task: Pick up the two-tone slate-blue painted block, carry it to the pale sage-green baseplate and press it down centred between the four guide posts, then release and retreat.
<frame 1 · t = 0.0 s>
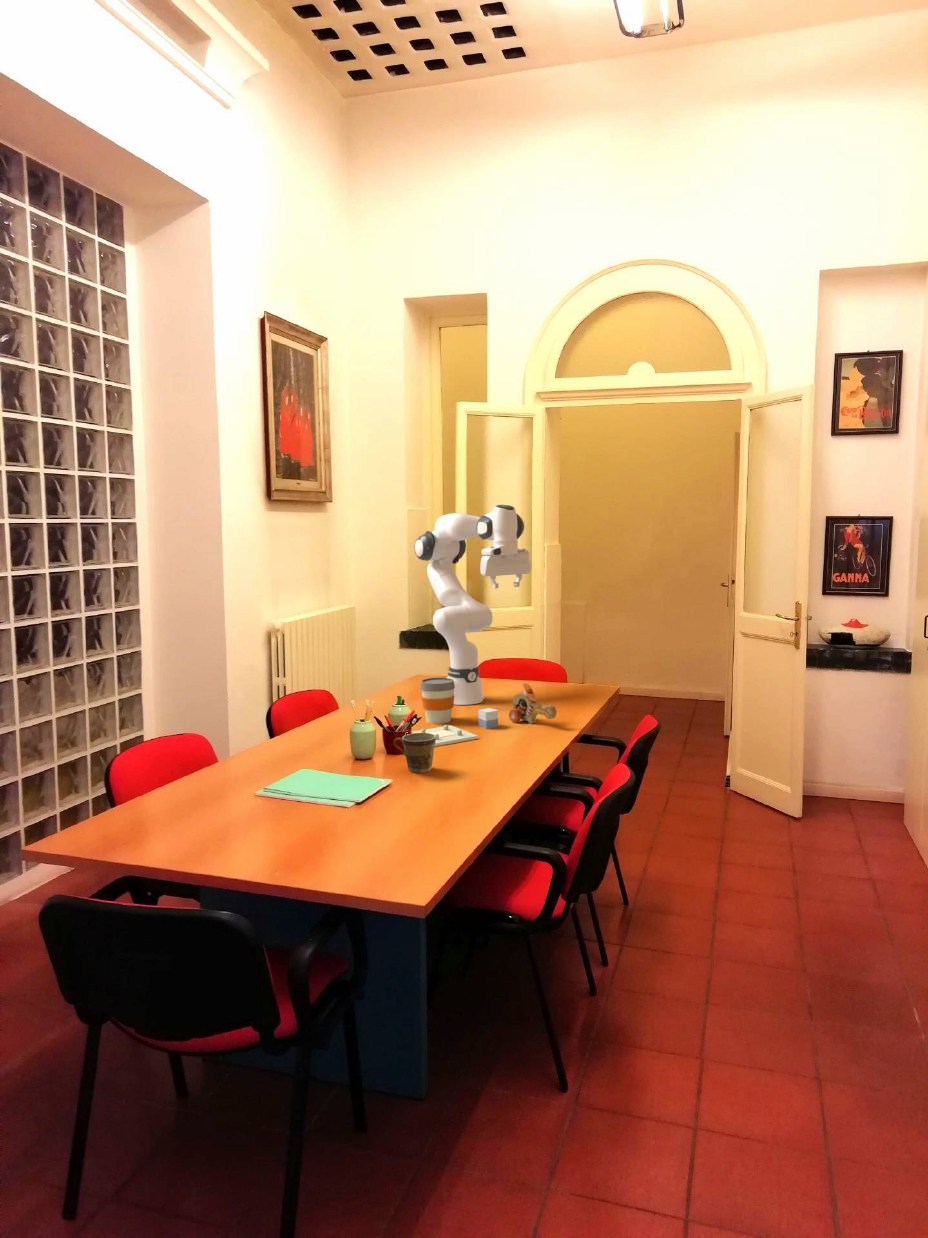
hand: (506, 587, 320), 48 cm above the table, fingers open, 8 cm apart
brick stack: (488, 726, 311), on the table
ceramic cup: (415, 770, 260), on the table
reusable coffee cup: (438, 721, 321), on the table
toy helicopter: (532, 724, 313), on the table
baseplate: (441, 737, 297), on the table
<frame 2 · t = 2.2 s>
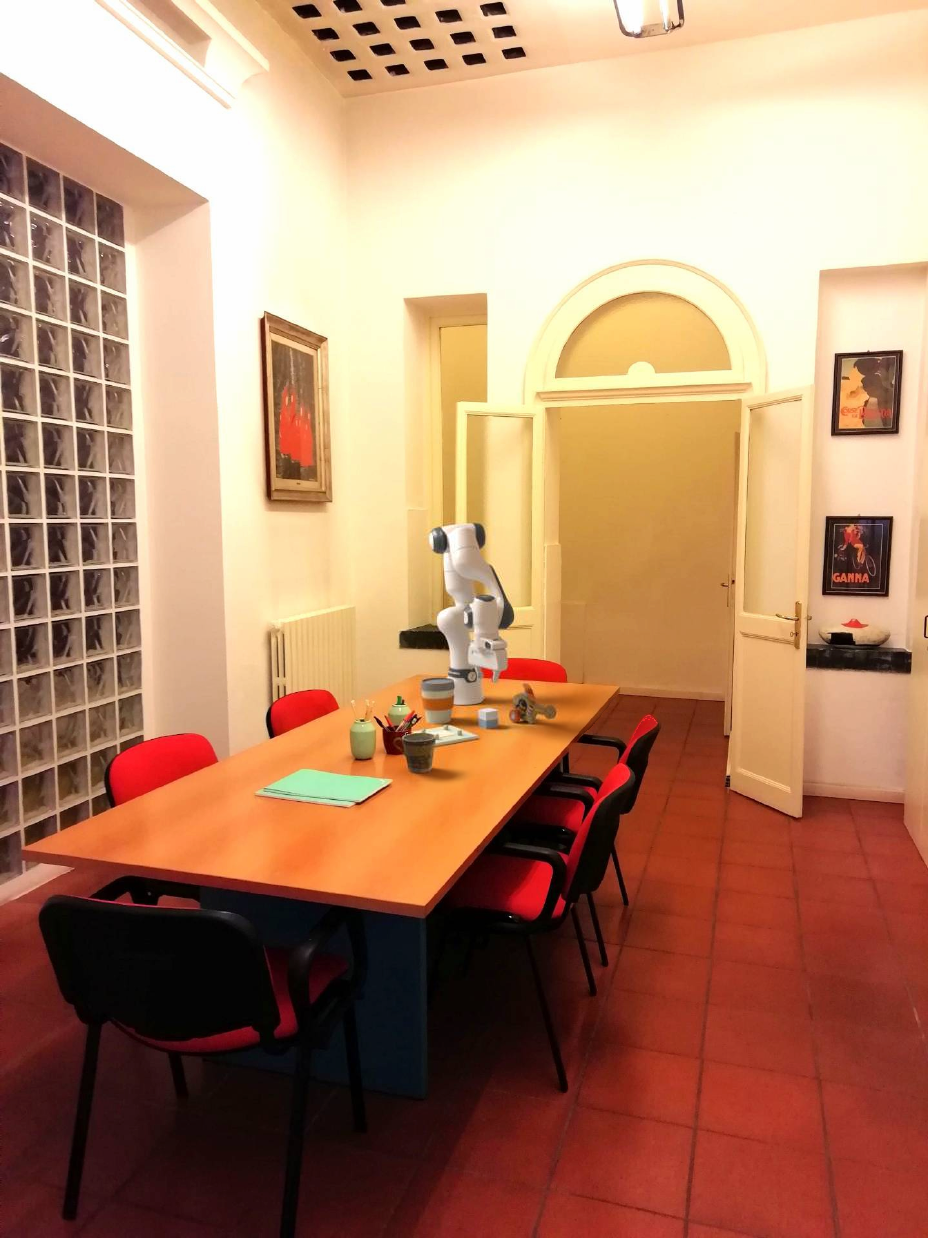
hand: (487, 680, 308), 17 cm above the table, fingers open, 8 cm apart
nothing on the table moved.
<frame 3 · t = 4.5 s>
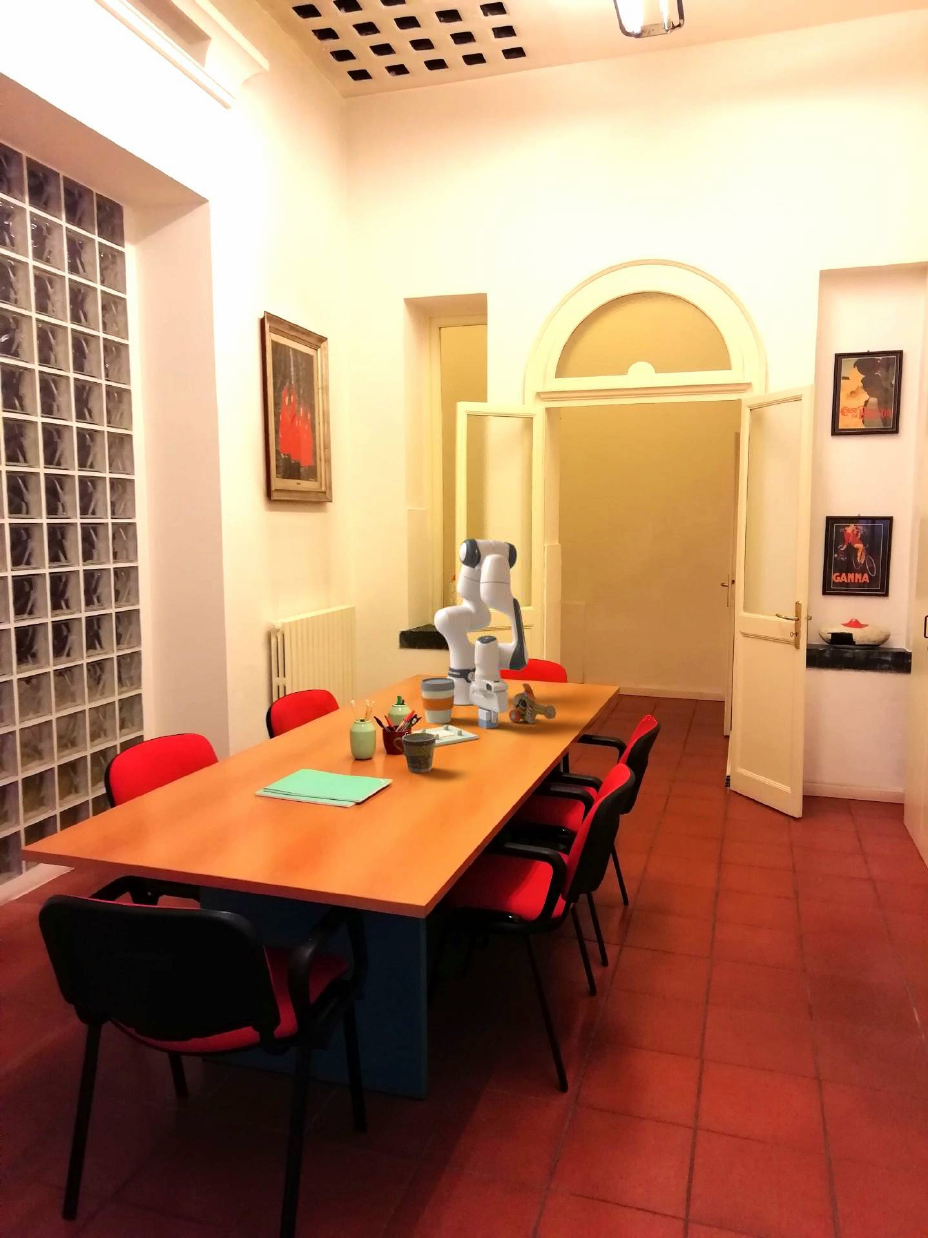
hand: (488, 720, 310), 2 cm above the table, fingers closed on brick stack, 5 cm apart
brick stack: (488, 726, 311), on the table, touching gripper
everything else where it was.
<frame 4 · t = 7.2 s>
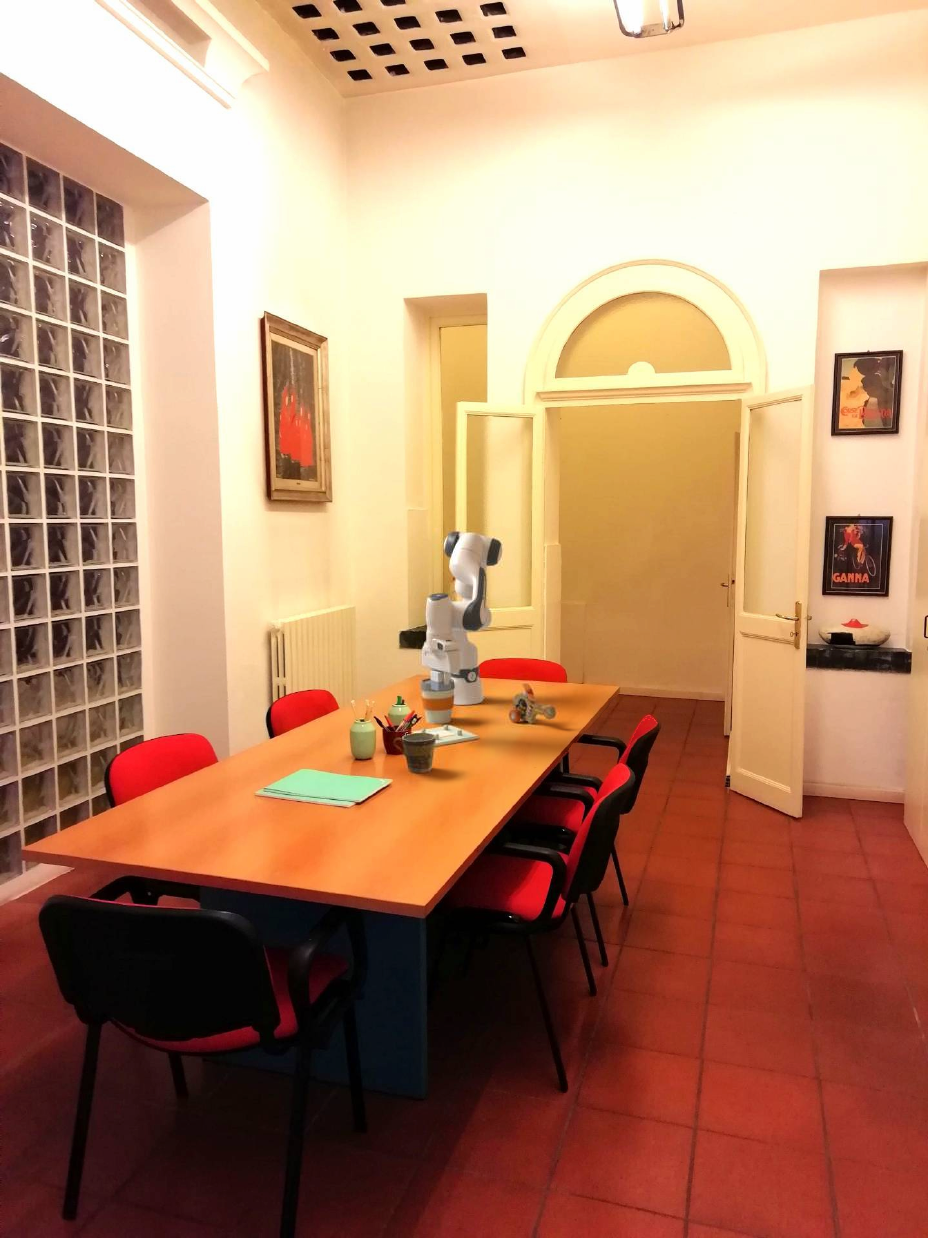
hand: (440, 682, 295), 19 cm above the table, fingers closed on brick stack, 5 cm apart
brick stack: (441, 688, 295), point 17 cm above the table, touching gripper
everything else where it was.
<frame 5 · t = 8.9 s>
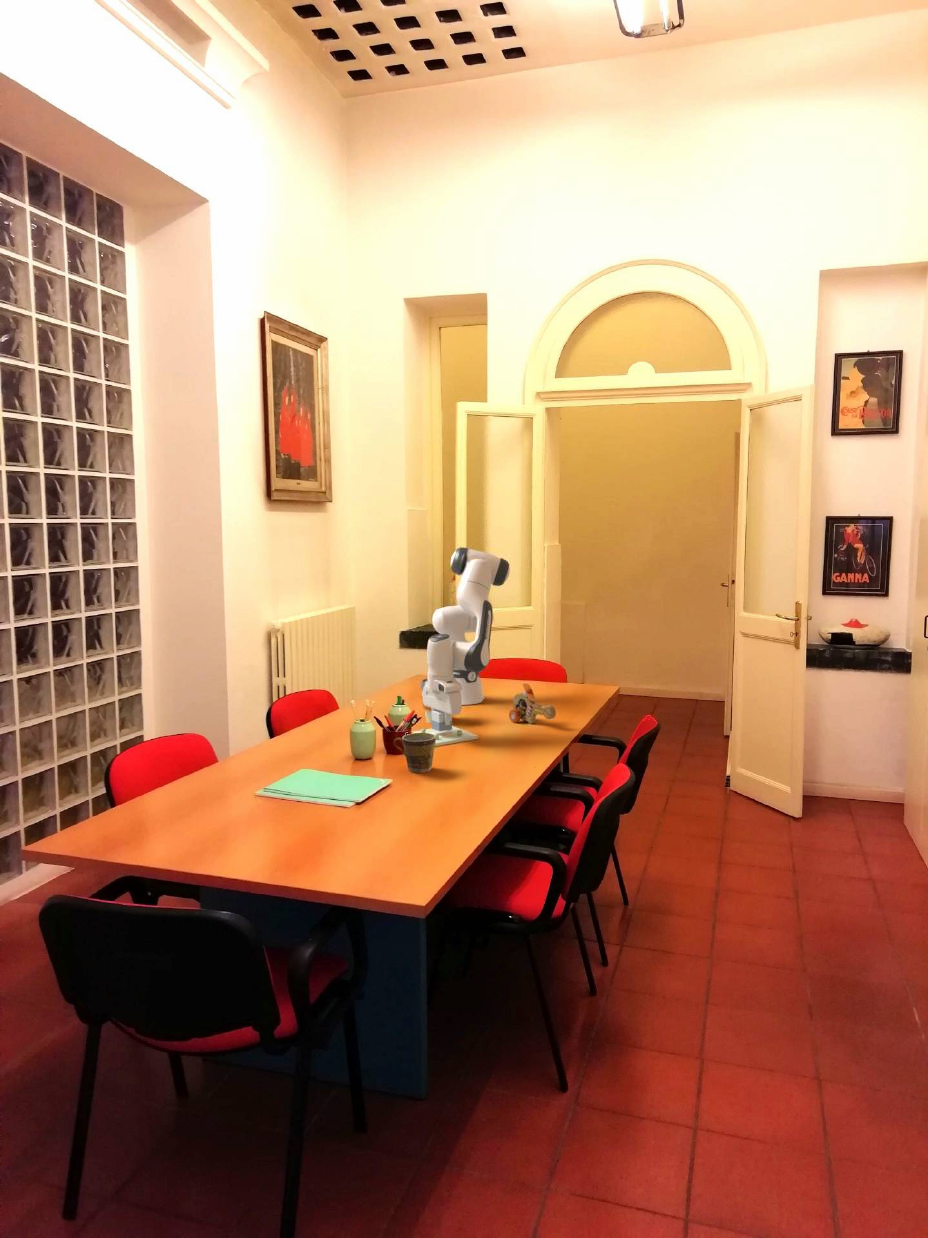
hand: (441, 723, 296), 5 cm above the table, fingers closed on brick stack, 5 cm apart
brick stack: (442, 728, 297), point 3 cm above the table, touching gripper
everything else where it was.
when the fingers open (4 cm above the table, at t = 10.2 s): brick stack stays where it is, resting on baseplate.
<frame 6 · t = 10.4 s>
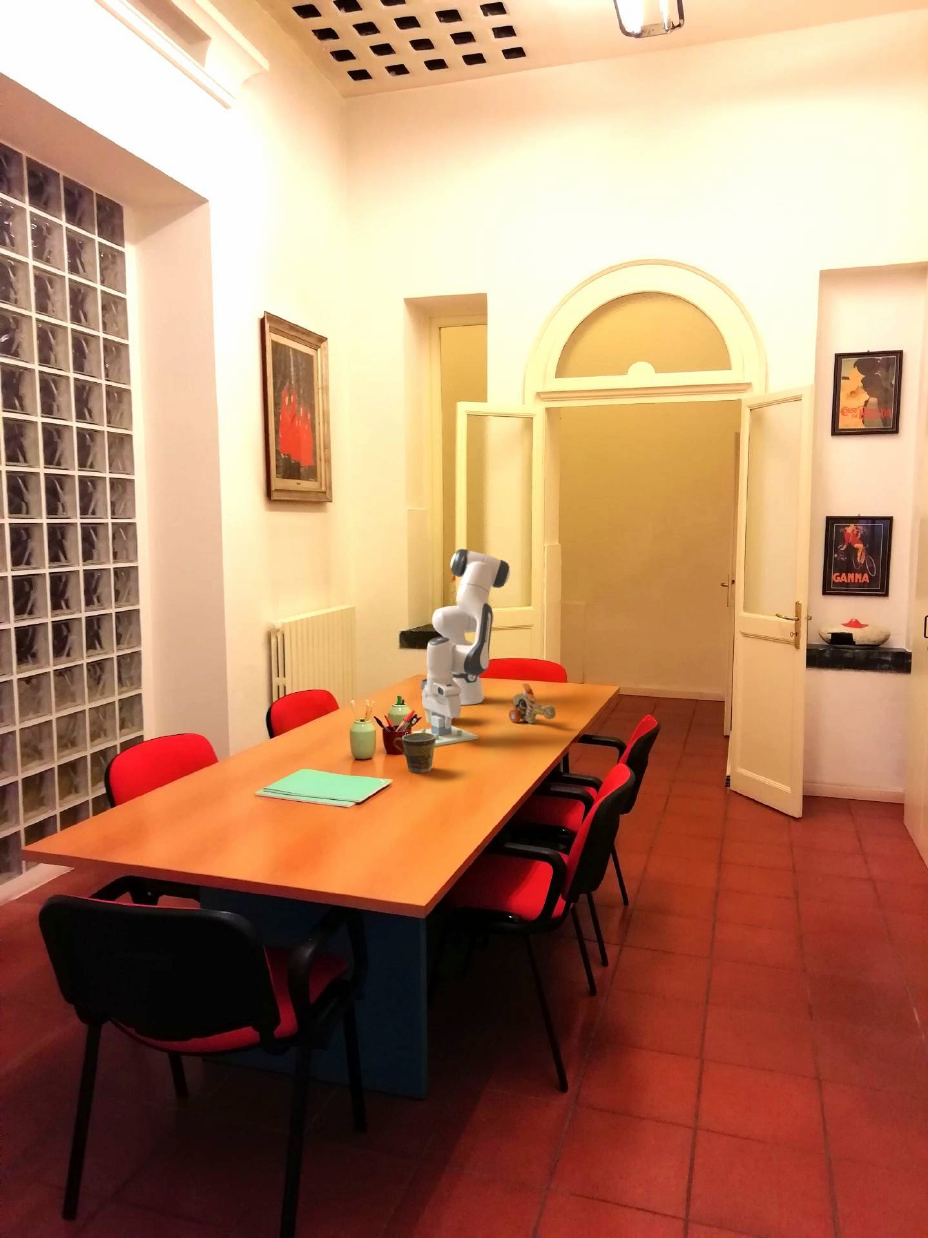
hand: (441, 726, 297), 4 cm above the table, fingers open, 6 cm apart
brick stack: (441, 733, 297), point 1 cm above the table, touching baseplate
everything else where it was.
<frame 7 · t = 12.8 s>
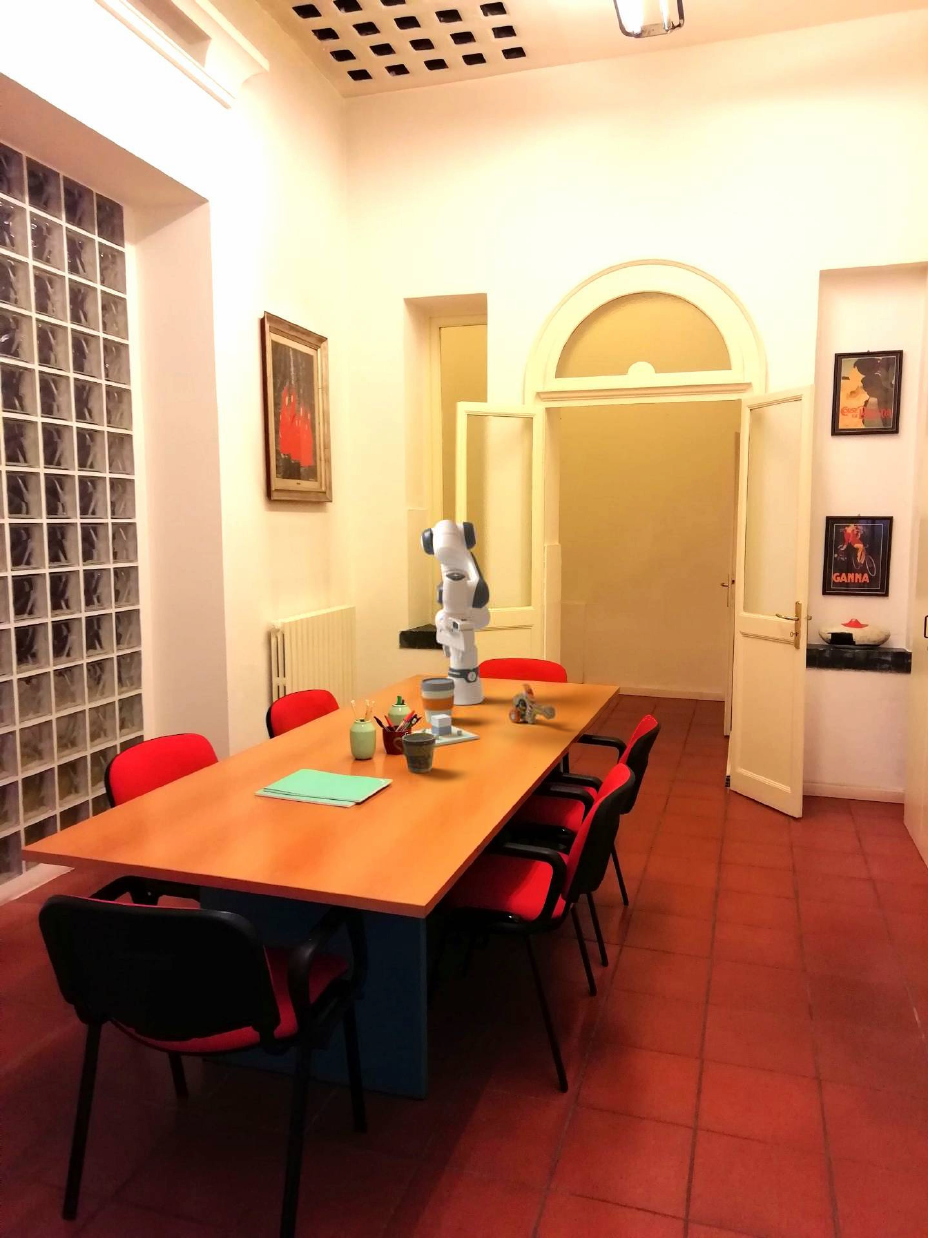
hand: (454, 660, 304), 25 cm above the table, fingers open, 8 cm apart
nothing on the table moved.
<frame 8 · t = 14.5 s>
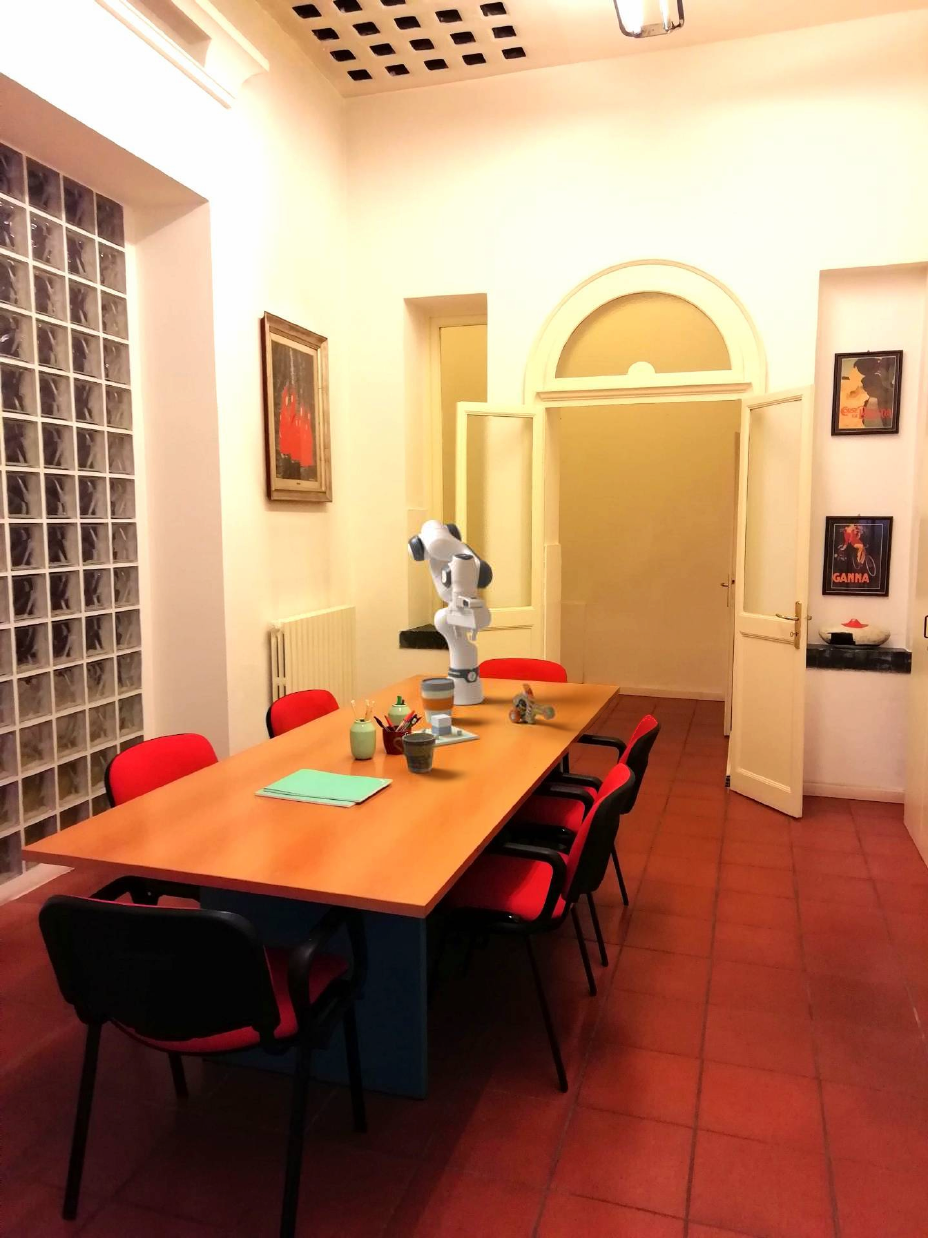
hand: (465, 639, 309), 31 cm above the table, fingers open, 8 cm apart
nothing on the table moved.
at the end: brick stack 0.1 cm off-centre on the baseplate, point 1.2 cm above the baseplate's base; brick stack tilted 0°; the gripper is holding nothing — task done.
